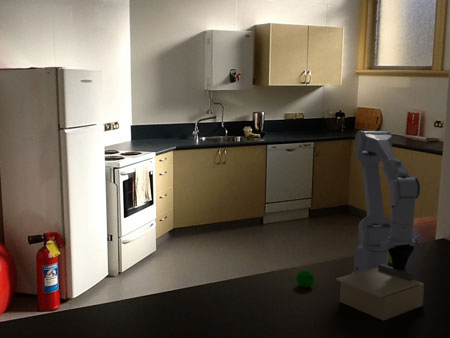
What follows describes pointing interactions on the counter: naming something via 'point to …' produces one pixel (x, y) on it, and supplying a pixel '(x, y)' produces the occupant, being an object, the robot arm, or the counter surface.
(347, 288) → the carton
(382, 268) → the carton lid
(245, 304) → the counter surface
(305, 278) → the green ball
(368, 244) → the robot arm
